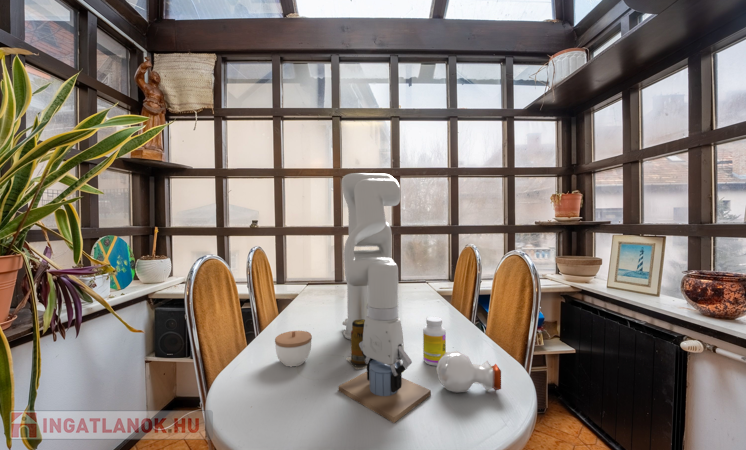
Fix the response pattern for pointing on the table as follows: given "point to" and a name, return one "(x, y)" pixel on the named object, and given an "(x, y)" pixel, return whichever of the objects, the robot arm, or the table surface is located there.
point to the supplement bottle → (433, 341)
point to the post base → (385, 397)
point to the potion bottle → (466, 373)
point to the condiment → (357, 345)
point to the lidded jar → (293, 347)
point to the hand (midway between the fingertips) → (383, 383)
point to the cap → (380, 378)
